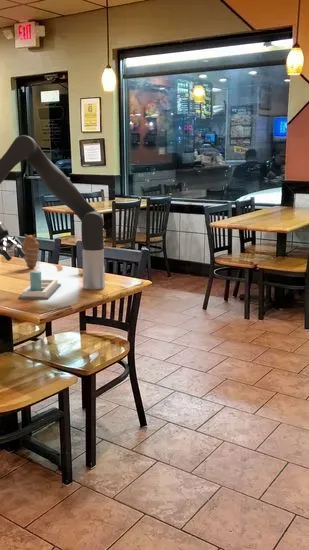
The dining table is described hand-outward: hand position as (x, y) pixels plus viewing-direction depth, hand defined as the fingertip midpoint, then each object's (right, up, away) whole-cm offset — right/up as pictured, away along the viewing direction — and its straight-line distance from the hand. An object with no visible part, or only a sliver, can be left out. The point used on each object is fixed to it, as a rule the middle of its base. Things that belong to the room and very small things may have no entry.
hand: (17, 258), depth 220 cm
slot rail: (+8, -14, +6) cm, 18 cm away
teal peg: (+8, -15, -1) cm, 17 cm away
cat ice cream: (-7, -4, +56) cm, 56 cm away
